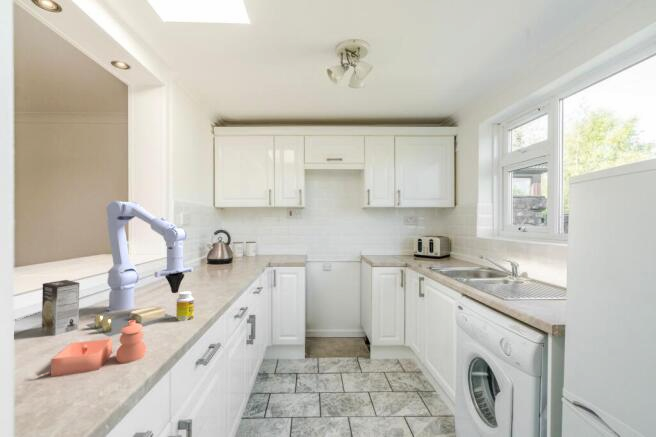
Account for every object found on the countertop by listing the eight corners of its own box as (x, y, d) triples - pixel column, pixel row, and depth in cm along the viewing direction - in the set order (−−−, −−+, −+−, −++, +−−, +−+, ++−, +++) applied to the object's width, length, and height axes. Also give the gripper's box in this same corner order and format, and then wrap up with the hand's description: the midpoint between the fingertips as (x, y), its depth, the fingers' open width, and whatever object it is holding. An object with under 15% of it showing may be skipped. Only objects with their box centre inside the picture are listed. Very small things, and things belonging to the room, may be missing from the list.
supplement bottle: (190, 322, 102) (190, 294, 103) (173, 323, 102) (174, 294, 102) (195, 317, 108) (195, 290, 108) (179, 318, 107) (180, 290, 107)
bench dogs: (93, 328, 95) (93, 316, 95) (101, 325, 97) (101, 314, 97) (104, 333, 90) (104, 320, 90) (113, 331, 92) (113, 318, 92)
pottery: (50, 377, 67) (51, 335, 67) (70, 359, 76) (71, 321, 76) (140, 364, 73) (141, 325, 73) (149, 348, 82) (150, 314, 82)
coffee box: (40, 333, 92) (41, 283, 93) (65, 326, 98) (66, 279, 98) (55, 338, 89) (55, 286, 89) (80, 331, 94) (80, 282, 94)
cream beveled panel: (130, 318, 104) (130, 311, 104) (153, 312, 111) (153, 306, 111) (141, 323, 100) (141, 315, 100) (164, 316, 106) (164, 309, 106)
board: (85, 327, 98) (85, 324, 98) (150, 310, 116) (150, 309, 116) (109, 338, 88) (109, 336, 88) (176, 319, 106) (176, 317, 106)
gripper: (161, 261, 106) (161, 298, 105) (197, 256, 118) (197, 290, 118) (151, 259, 109) (151, 295, 109) (187, 255, 122) (187, 287, 122)
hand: (174, 292), depth 114 cm, fingers closed
